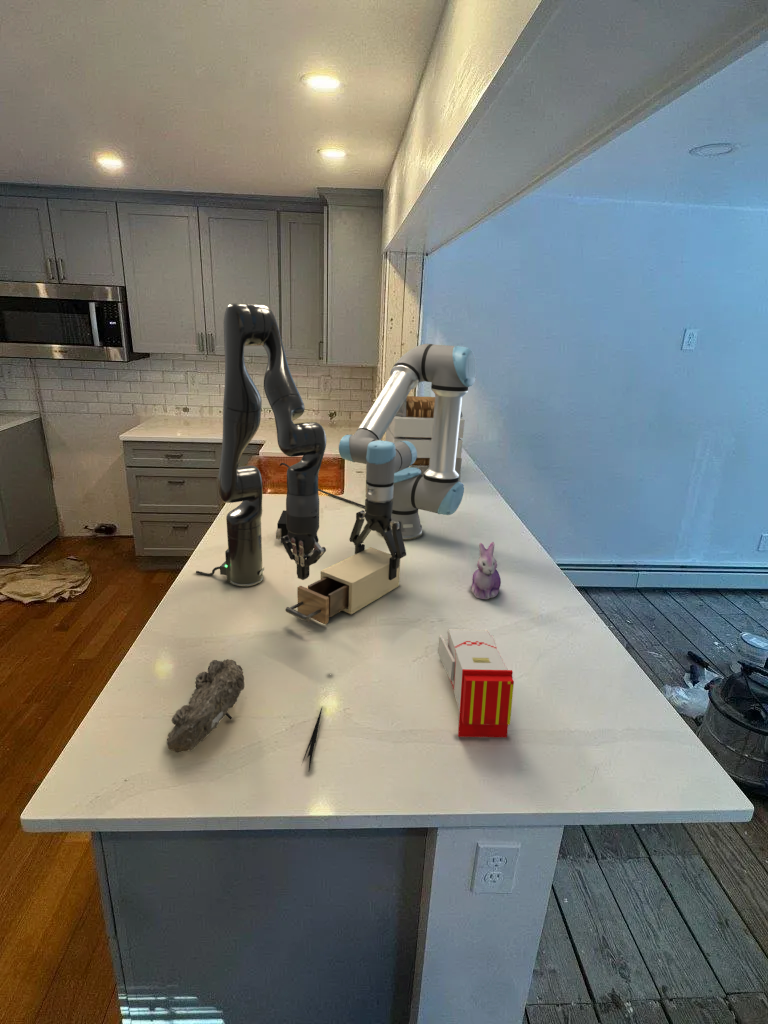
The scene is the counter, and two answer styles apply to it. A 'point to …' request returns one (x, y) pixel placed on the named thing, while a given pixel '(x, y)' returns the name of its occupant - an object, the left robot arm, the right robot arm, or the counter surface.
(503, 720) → the toy
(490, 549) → the figurine
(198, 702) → the fossil
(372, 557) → the cabinet
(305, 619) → the drawer
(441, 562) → the counter surface
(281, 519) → the black wheeled vehicle
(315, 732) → the feather
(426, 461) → the white slatted crate
